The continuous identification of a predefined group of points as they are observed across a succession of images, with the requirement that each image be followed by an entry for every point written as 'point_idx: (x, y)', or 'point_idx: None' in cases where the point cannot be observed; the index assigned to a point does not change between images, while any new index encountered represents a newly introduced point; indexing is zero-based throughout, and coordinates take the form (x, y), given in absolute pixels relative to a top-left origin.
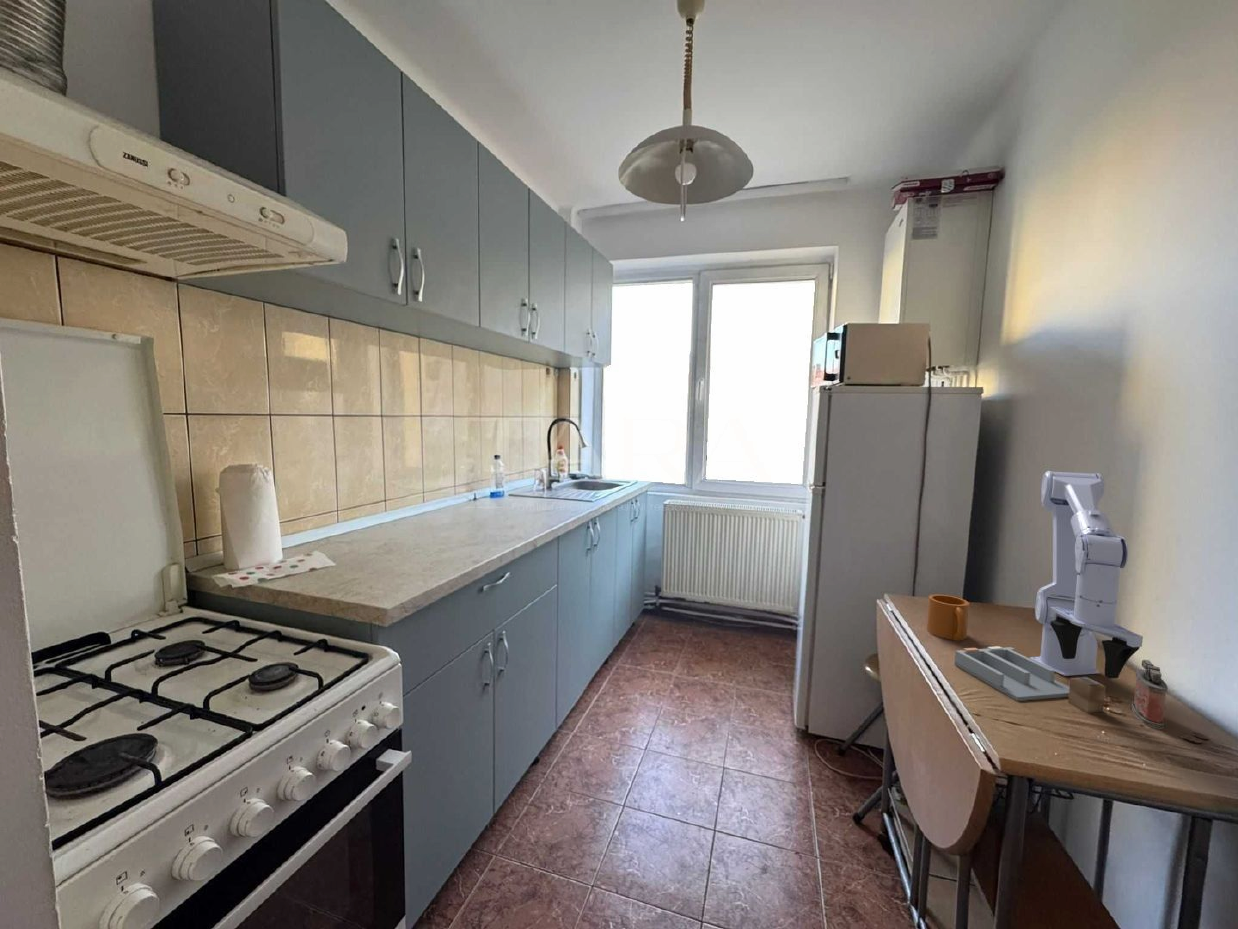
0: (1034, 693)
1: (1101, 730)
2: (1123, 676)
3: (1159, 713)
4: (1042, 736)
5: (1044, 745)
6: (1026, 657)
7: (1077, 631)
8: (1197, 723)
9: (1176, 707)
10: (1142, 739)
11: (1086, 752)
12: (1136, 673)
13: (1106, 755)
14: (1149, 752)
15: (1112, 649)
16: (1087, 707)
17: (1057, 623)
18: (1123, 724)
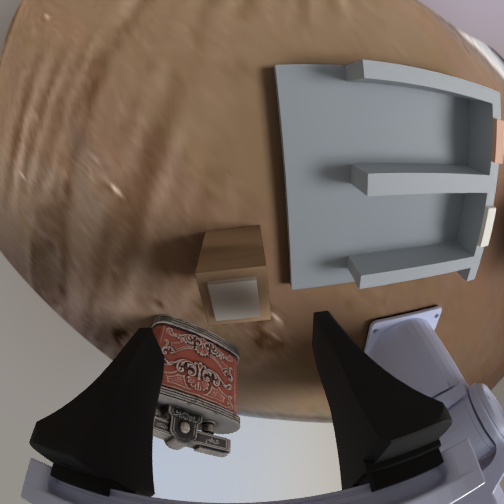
0: (296, 145)
1: (121, 191)
2: None
3: None
4: (96, 17)
5: (69, 6)
6: (435, 273)
7: (342, 453)
8: None
9: None
10: (101, 255)
11: (43, 81)
12: (215, 413)
13: (36, 119)
14: (58, 224)
15: (50, 423)
16: (205, 237)
17: (412, 441)
18: (157, 271)
